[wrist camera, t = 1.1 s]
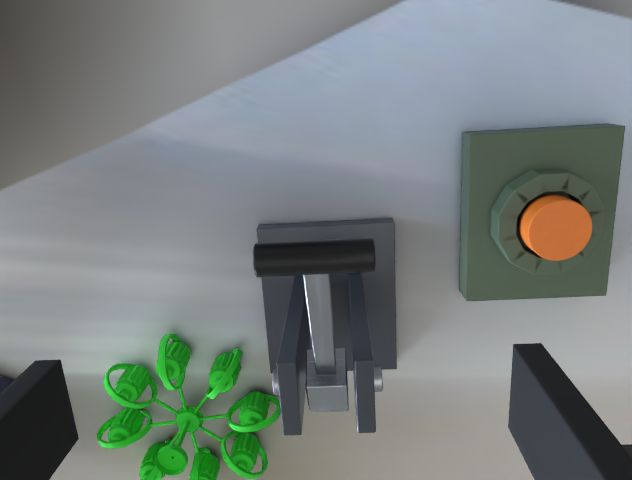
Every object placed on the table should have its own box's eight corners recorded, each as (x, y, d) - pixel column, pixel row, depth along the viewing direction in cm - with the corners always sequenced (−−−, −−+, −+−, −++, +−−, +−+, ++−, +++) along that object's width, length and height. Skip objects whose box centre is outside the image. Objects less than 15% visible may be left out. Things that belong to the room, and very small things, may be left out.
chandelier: (85, 337, 42) (39, 384, 35) (265, 312, 41) (251, 356, 34) (134, 486, 46) (100, 553, 39) (298, 467, 45) (291, 533, 38)
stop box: (462, 131, 36) (477, 137, 32) (608, 123, 36) (641, 128, 32) (458, 290, 40) (472, 312, 36) (591, 284, 39) (619, 306, 35)
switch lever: (255, 228, 22) (250, 270, 20) (372, 222, 22) (377, 264, 20) (286, 375, 31) (284, 413, 29) (370, 372, 30) (373, 411, 29)
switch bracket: (259, 224, 39) (219, 297, 25) (392, 217, 38) (423, 288, 25) (272, 365, 42) (244, 494, 29) (395, 361, 42) (423, 490, 28)
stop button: (520, 196, 34) (530, 201, 32) (582, 192, 33) (595, 198, 32) (517, 253, 35) (526, 262, 33) (577, 250, 35) (589, 259, 33)
